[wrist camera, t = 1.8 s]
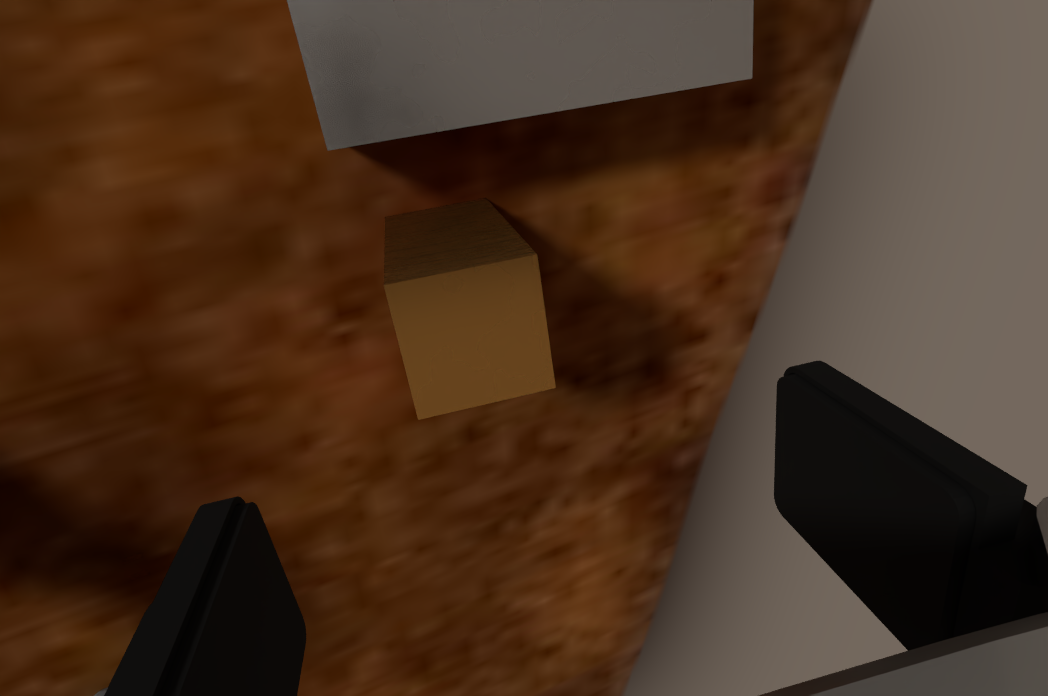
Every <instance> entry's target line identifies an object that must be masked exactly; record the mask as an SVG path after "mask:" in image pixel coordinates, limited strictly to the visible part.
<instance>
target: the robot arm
mask: <svg viewBox="0 0 1048 696" xmlns="http://www.w3.org/2000/svg"><path fill="white" fill-rule="evenodd" d="M1026 489H1027V485H1026V484H1024V483H1022V482H1021V481H1019V480H1018V479H1016V478H1014V477H1012V476H1011V475H1009V474H1008V473H1006V472H1004V471H1003V470H1001V469H1000V468H998V467H996V466H994V465H993V464H991V463H990V462H988V461H986V460H985V459H983V458H981V457H980V456H978V455H976V454H975V453H973V452H971V451H970V450H968V449H967V448H965V447H963V446H961V445H960V444H958V443H956V442H955V441H953V440H952V439H950V438H948V437H947V436H945V435H943V434H942V433H940V432H938V431H937V430H935V429H934V428H932V427H930V426H928V425H927V424H925V423H924V422H922V421H920V420H919V419H917V418H915V417H914V416H912V415H910V414H909V413H907V412H905V411H904V410H902V409H901V408H899V407H897V406H896V405H894V404H892V403H890V402H889V401H887V400H886V399H884V398H882V397H880V396H879V395H877V394H876V393H874V392H872V391H871V390H869V389H868V388H866V387H864V386H863V385H861V384H859V383H858V382H856V381H854V380H853V379H851V378H849V377H848V376H846V375H844V374H843V373H841V372H839V371H837V370H836V369H834V368H833V367H831V366H829V365H828V364H826V363H824V362H822V361H814V362H810V363H806V364H801V365H797V366H793V367H789V368H788V369H787V370H786V371H785V373H784V377H781V378H780V379H779V380H778V382H777V402H776V439H775V477H774V499H775V503H776V506H777V508H778V510H779V512H780V513H781V514H782V516H783V517H784V518H785V519H786V520H787V521H788V523H789V524H790V525H791V526H792V527H793V528H794V529H795V530H796V531H797V532H798V533H799V534H800V535H801V536H802V537H803V538H804V540H805V541H806V542H807V543H808V544H809V545H810V546H811V547H812V548H813V549H814V550H815V551H816V552H817V554H818V555H819V556H820V557H821V558H822V559H823V560H824V561H825V562H826V563H827V564H828V565H829V566H830V568H831V569H832V570H833V571H834V572H835V573H836V574H837V575H838V576H839V577H840V578H841V579H842V580H843V581H844V582H845V583H846V584H847V586H848V587H849V588H850V589H851V590H852V591H853V592H854V593H855V594H856V595H857V596H858V597H859V598H860V599H861V601H862V602H863V603H864V604H865V605H866V606H867V607H868V608H869V609H870V610H871V611H872V612H873V613H874V615H875V616H876V617H877V618H878V619H879V620H880V621H881V622H882V623H883V624H884V625H885V626H886V627H887V628H888V630H889V631H890V632H891V633H892V634H893V635H894V636H895V637H896V638H897V639H898V640H899V641H900V642H901V643H902V645H903V646H904V647H905V648H906V649H907V650H908V651H906V652H903V653H899V654H896V655H893V656H889V657H886V658H883V659H879V660H876V661H873V662H869V663H866V664H863V665H859V666H856V667H852V668H849V669H846V670H842V671H839V672H836V673H832V674H829V675H825V676H822V677H819V678H816V679H812V680H809V681H805V682H802V683H799V684H795V685H792V686H789V687H785V688H782V689H778V690H775V691H772V692H769V693H765V694H762V695H759V696H1048V497H1046V498H1044V499H1043V500H1042V501H1041V502H1040V503H1039V504H1038V505H1037V507H1036V506H1034V505H1032V504H1031V503H1029V502H1028V501H1026V500H1024V497H1025V493H1026ZM305 644H306V628H305V623H304V619H303V616H302V614H301V611H300V609H299V607H298V604H297V602H296V599H295V597H294V594H293V592H292V589H291V587H290V585H289V582H288V580H287V577H286V575H285V572H284V570H283V567H282V565H281V562H280V560H279V558H278V555H277V553H276V550H275V548H274V545H273V543H272V540H271V538H270V536H269V533H268V531H267V528H266V526H265V523H264V521H263V518H262V516H261V513H260V511H259V509H258V507H257V505H256V504H255V503H253V502H251V503H245V501H244V500H243V499H242V498H241V497H234V498H229V499H225V500H221V501H217V502H212V503H208V504H204V505H202V506H200V508H199V509H198V511H197V513H196V515H195V517H194V519H193V521H192V523H191V525H190V527H189V529H188V531H187V533H186V535H185V537H184V539H183V541H182V544H181V546H180V548H179V550H178V552H177V554H176V556H175V558H174V560H173V562H172V564H171V566H170V568H169V570H168V572H167V574H166V576H165V578H164V580H163V583H162V585H161V587H160V589H159V591H158V593H157V595H156V597H155V599H154V601H153V603H152V604H151V605H150V606H149V607H148V609H147V610H146V612H145V614H144V616H143V618H142V620H141V622H140V624H139V626H138V628H137V630H136V632H135V634H134V636H133V638H132V640H131V642H130V644H129V646H128V648H127V650H126V652H125V654H124V656H123V658H122V660H121V662H120V664H119V666H118V668H117V670H116V672H115V674H114V676H113V678H112V681H111V683H110V685H109V687H108V689H107V691H106V693H105V695H104V696H297V692H298V686H299V680H300V674H301V668H302V662H303V656H304V650H305Z"/></svg>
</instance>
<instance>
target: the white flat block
mask: <svg viewBox="0 0 1048 696" xmlns="http://www.w3.org/2000/svg"><path fill="white" fill-rule="evenodd" d="M287 2H288V6H289V10H290V13H291V17H292V21H293V24H294V28H295V32H296V35H297V39H298V43H299V46H300V50H301V54H302V58H303V61H304V65H305V69H306V72H307V76H308V80H309V83H310V87H311V91H312V94H313V98H314V102H315V106H316V109H317V113H318V117H319V120H320V124H321V128H322V131H323V135H324V139H325V143H326V146H327V150H334V149H340V148H346V147H352V146H357V145H363V144H369V143H375V142H381V141H387V140H393V139H399V138H405V137H410V136H416V135H422V134H428V133H434V132H440V131H446V130H452V129H457V128H463V127H469V126H475V125H481V124H487V123H493V122H499V121H504V120H510V119H516V118H522V117H528V116H534V115H540V114H546V113H552V112H557V111H563V110H569V109H575V108H581V107H587V106H593V105H599V104H604V103H610V102H616V101H622V100H628V99H634V98H640V97H646V96H652V95H657V94H663V93H669V92H675V91H681V90H687V89H693V88H699V87H704V86H710V85H716V84H722V83H728V82H734V81H740V80H746V79H752V68H753V5H754V0H287Z"/></svg>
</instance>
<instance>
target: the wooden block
mask: <svg viewBox="0 0 1048 696" xmlns="http://www.w3.org/2000/svg"><path fill="white" fill-rule="evenodd" d="M384 288H385V292H386V296H387V300H388V304H389V307H390V311H391V315H392V319H393V323H394V327H395V331H396V335H397V339H398V343H399V347H400V350H401V354H402V358H403V362H404V366H405V370H406V374H407V378H408V382H409V386H410V390H411V393H412V397H413V401H414V405H415V409H416V413H417V417H418V420H419V419H424V418H428V417H432V416H437V415H441V414H445V413H450V412H454V411H458V410H462V409H467V408H471V407H475V406H480V405H484V404H488V403H493V402H497V401H501V400H506V399H510V398H514V397H519V396H523V395H527V394H531V393H536V392H540V391H544V390H549V389H553V388H556V386H555V379H554V372H553V364H552V357H551V350H550V343H549V336H548V328H547V321H546V314H545V307H544V299H543V292H542V285H541V278H540V271H539V263H538V256H537V254H536V252H535V251H534V250H533V249H532V248H531V247H530V246H529V245H528V244H527V243H526V241H525V240H524V239H523V238H522V237H521V236H520V235H519V234H518V233H517V232H516V231H515V229H514V228H513V227H512V226H511V225H510V224H509V223H508V222H507V221H506V220H505V219H504V217H503V216H502V215H501V214H500V213H499V212H498V211H497V210H496V209H495V208H494V206H493V205H492V204H491V203H490V202H489V201H488V200H487V199H486V198H484V199H479V200H473V201H468V202H463V203H457V204H452V205H446V206H441V207H436V208H430V209H425V210H420V211H414V212H409V213H403V214H398V215H393V216H387V217H385V243H384Z"/></svg>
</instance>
